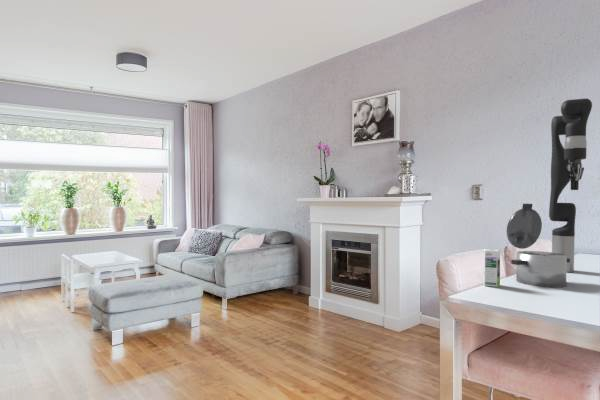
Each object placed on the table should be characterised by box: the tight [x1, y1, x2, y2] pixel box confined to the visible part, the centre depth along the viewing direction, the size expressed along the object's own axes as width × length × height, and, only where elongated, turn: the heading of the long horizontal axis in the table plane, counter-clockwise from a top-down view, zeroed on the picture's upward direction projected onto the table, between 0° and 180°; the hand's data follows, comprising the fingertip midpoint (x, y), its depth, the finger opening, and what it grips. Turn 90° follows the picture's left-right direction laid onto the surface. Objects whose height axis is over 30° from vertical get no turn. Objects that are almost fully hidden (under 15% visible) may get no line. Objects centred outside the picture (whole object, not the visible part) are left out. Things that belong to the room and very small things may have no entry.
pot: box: [510, 250, 570, 288], centre depth 169 cm, size 18×28×12 cm, turn 107°
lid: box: [506, 203, 543, 250], centre depth 177 cm, size 20×18×1 cm
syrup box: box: [483, 248, 501, 288], centre depth 163 cm, size 6×6×14 cm
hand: (574, 189), depth 167 cm, fingers closed
